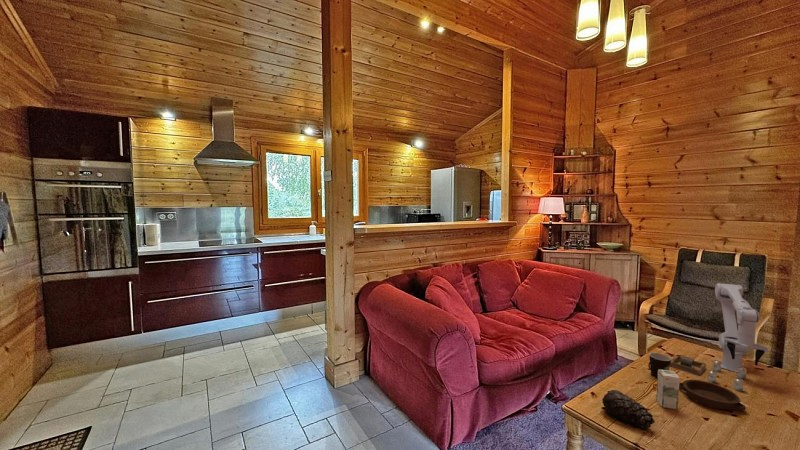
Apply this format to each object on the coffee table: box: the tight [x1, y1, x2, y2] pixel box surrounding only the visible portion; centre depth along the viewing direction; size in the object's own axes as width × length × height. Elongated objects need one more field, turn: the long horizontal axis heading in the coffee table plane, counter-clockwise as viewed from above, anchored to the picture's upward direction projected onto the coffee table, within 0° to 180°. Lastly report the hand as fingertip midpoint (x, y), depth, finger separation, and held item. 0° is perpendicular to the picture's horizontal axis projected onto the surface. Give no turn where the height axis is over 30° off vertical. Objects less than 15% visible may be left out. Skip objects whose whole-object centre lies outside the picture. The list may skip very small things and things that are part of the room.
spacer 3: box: [736, 366, 748, 381], centre depth 162 cm, size 3×3×5 cm
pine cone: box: [601, 389, 655, 434], centre depth 132 cm, size 10×18×10 cm, turn 41°
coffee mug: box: [647, 352, 672, 379], centre depth 164 cm, size 12×9×10 cm
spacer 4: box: [733, 377, 744, 393], centre depth 152 cm, size 3×3×5 cm
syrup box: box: [655, 369, 681, 411], centre depth 141 cm, size 6×6×14 cm
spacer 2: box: [712, 359, 722, 373], centre depth 169 cm, size 3×3×5 cm
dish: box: [679, 379, 747, 412], centre depth 144 cm, size 18×22×5 cm
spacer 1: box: [707, 369, 718, 384], centre depth 159 cm, size 3×3×5 cm
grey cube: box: [679, 355, 695, 369], centre depth 172 cm, size 4×4×5 cm
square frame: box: [669, 355, 707, 376], centre depth 172 cm, size 12×12×2 cm
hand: (744, 361), depth 158 cm, fingers open, 7 cm apart
